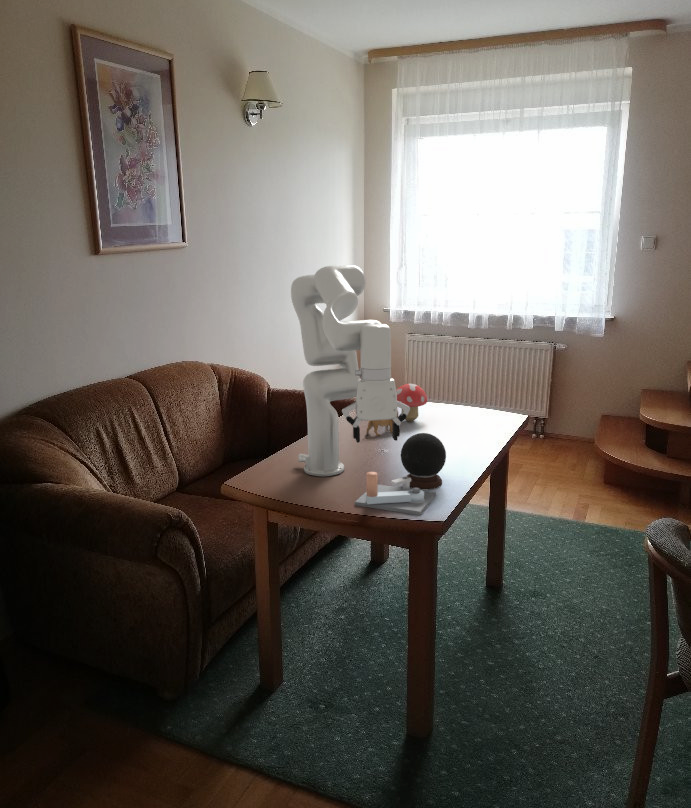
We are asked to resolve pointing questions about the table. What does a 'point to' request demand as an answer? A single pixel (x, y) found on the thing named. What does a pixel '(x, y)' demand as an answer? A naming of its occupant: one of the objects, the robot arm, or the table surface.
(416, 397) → the decorative mushroom
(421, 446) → the black stone ball
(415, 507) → the pintle board
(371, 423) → the lion figurine
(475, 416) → the table surface
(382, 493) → the white lever handle
